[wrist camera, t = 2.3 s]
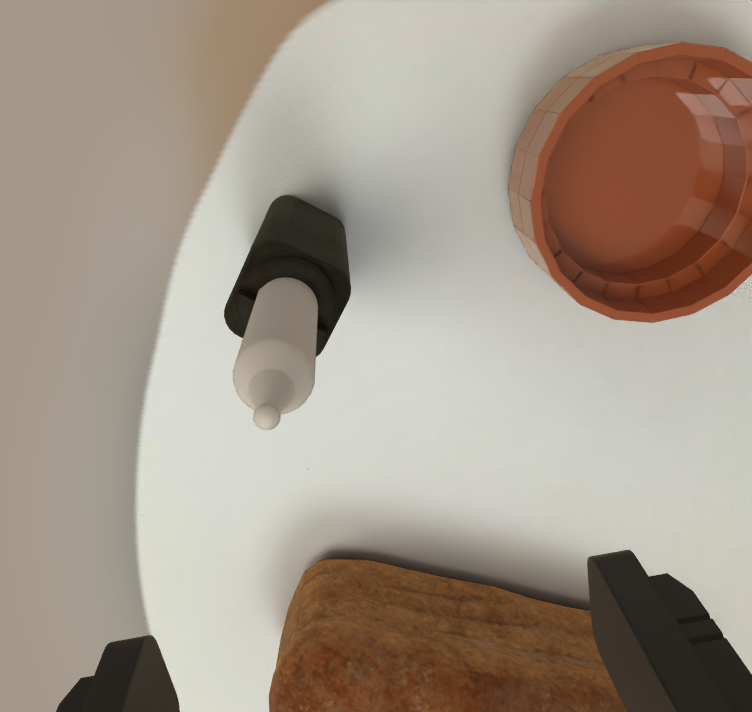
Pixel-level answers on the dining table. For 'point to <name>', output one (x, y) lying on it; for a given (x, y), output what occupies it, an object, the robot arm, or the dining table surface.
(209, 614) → the dining table surface
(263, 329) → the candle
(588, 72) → the bowl
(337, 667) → the bread
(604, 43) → the dining table surface
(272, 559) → the dining table surface
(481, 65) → the dining table surface
